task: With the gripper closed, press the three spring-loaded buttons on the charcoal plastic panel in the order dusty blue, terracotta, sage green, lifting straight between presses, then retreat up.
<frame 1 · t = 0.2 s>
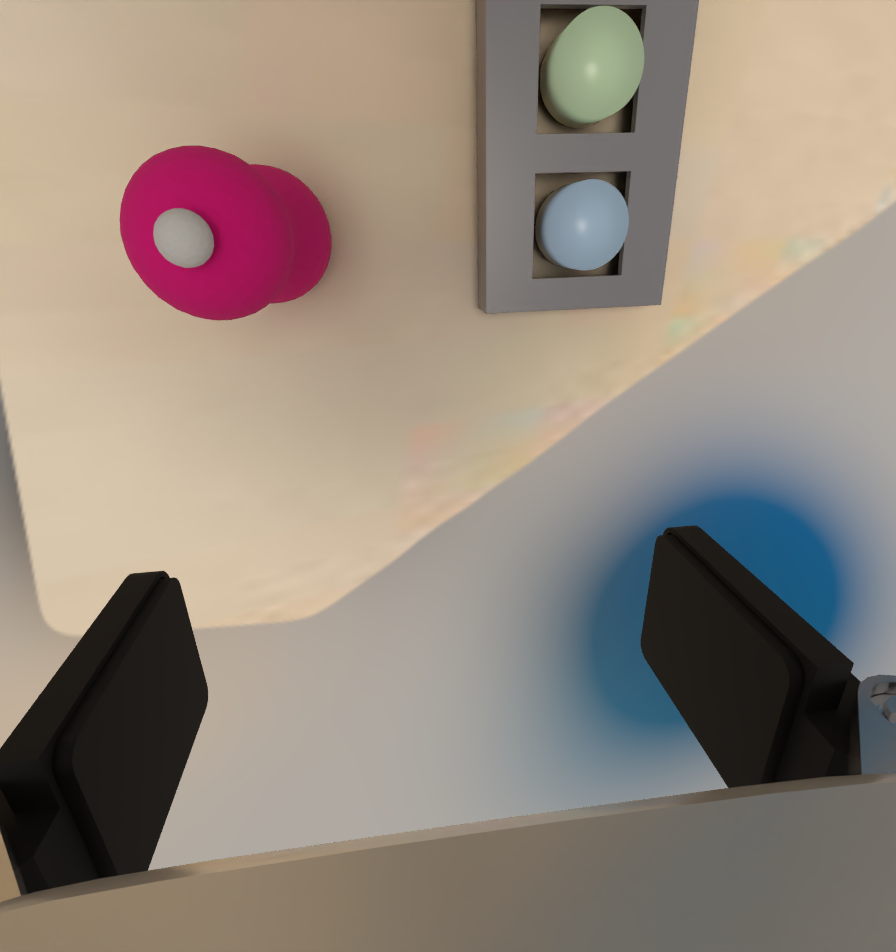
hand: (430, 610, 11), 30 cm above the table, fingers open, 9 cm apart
blue button: (580, 226, 34), point 3 cm above the table, slide at 0.0 cm
sage button: (590, 71, 31), point 3 cm above the table, slide at 0.0 cm
button panel: (572, 84, 33), on the table
pepper mill: (279, 236, 35), on the table
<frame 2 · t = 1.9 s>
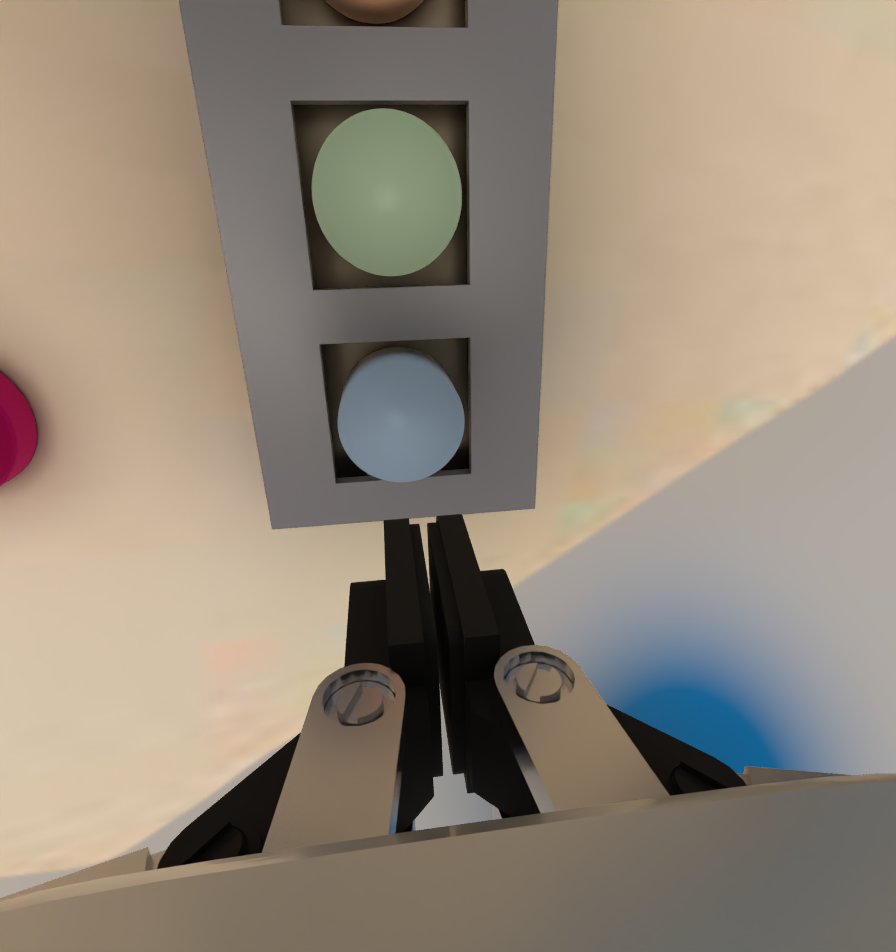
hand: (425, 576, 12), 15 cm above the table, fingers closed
blue button: (400, 413, 23), point 3 cm above the table, slide at 0.0 cm
sage button: (387, 199, 20), point 3 cm above the table, slide at 0.0 cm
button panel: (385, 204, 22), on the table
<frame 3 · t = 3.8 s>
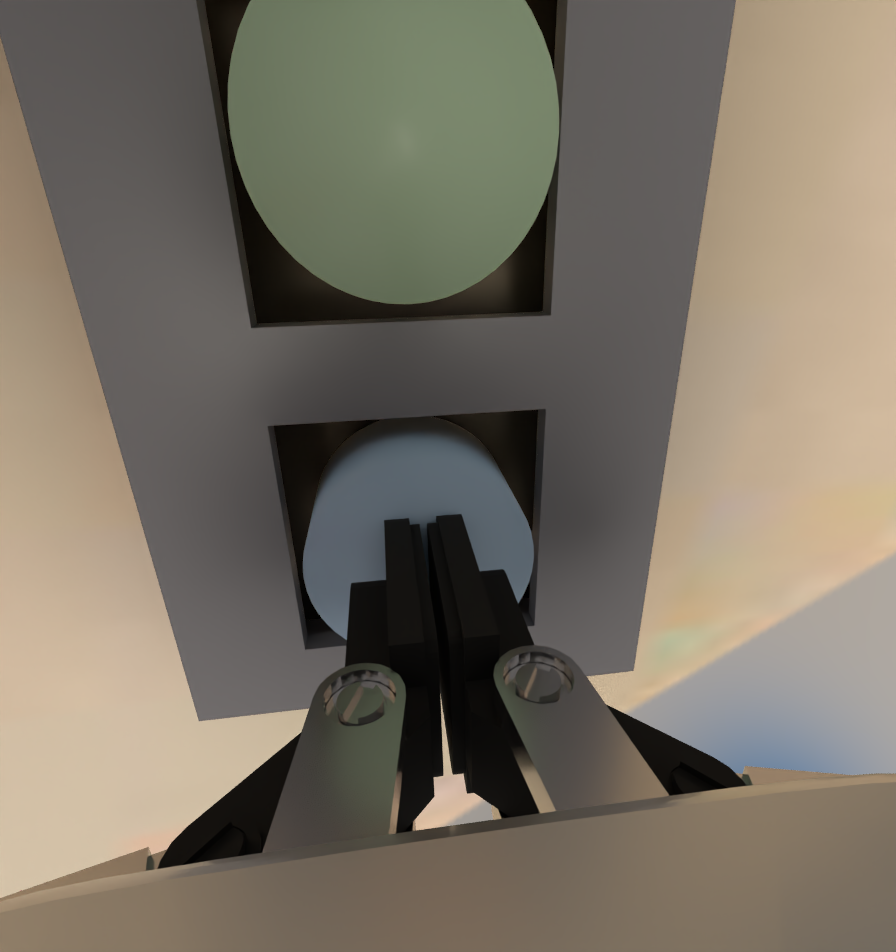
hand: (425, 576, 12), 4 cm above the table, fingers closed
blue button: (416, 533, 13), point 3 cm above the table, slide at 0.2 cm, touching gripper
sage button: (396, 147, 10), point 3 cm above the table, slide at 0.0 cm
button panel: (390, 167, 12), on the table
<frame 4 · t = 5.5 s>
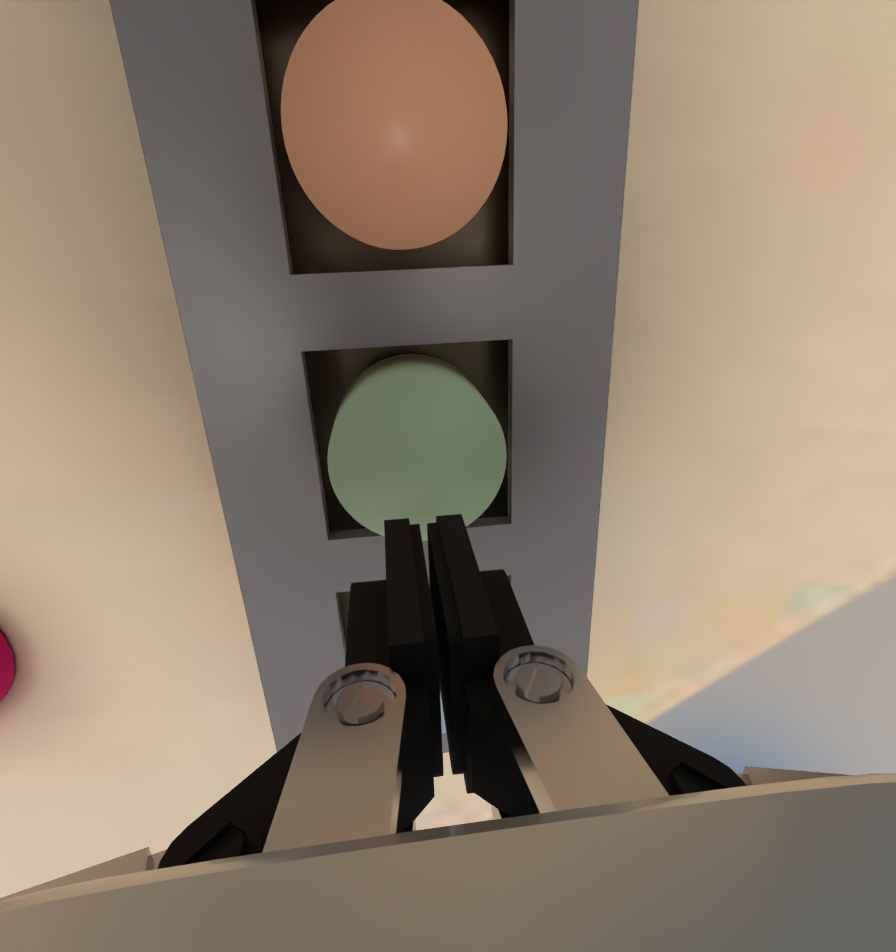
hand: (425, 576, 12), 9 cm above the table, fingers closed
blue button: (428, 650, 20), point 3 cm above the table, slide at 0.2 cm
sage button: (415, 445, 16), point 3 cm above the table, slide at 0.0 cm
terracotta button: (395, 140, 13), point 3 cm above the table, slide at 0.0 cm
button panel: (410, 417, 19), on the table
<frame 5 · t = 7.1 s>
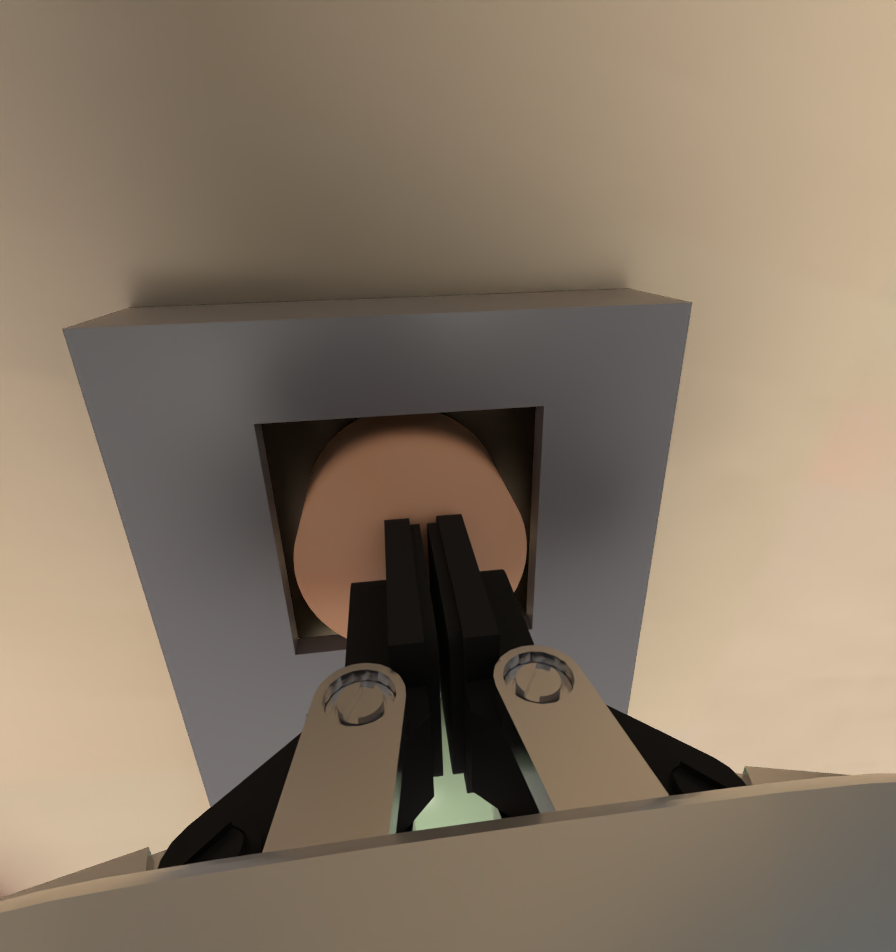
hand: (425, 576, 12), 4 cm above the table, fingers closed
sage button: (424, 776, 16), point 3 cm above the table, slide at 0.0 cm
terracotta button: (408, 526, 13), point 2 cm above the table, slide at 0.6 cm, touching gripper
button panel: (416, 696, 18), on the table
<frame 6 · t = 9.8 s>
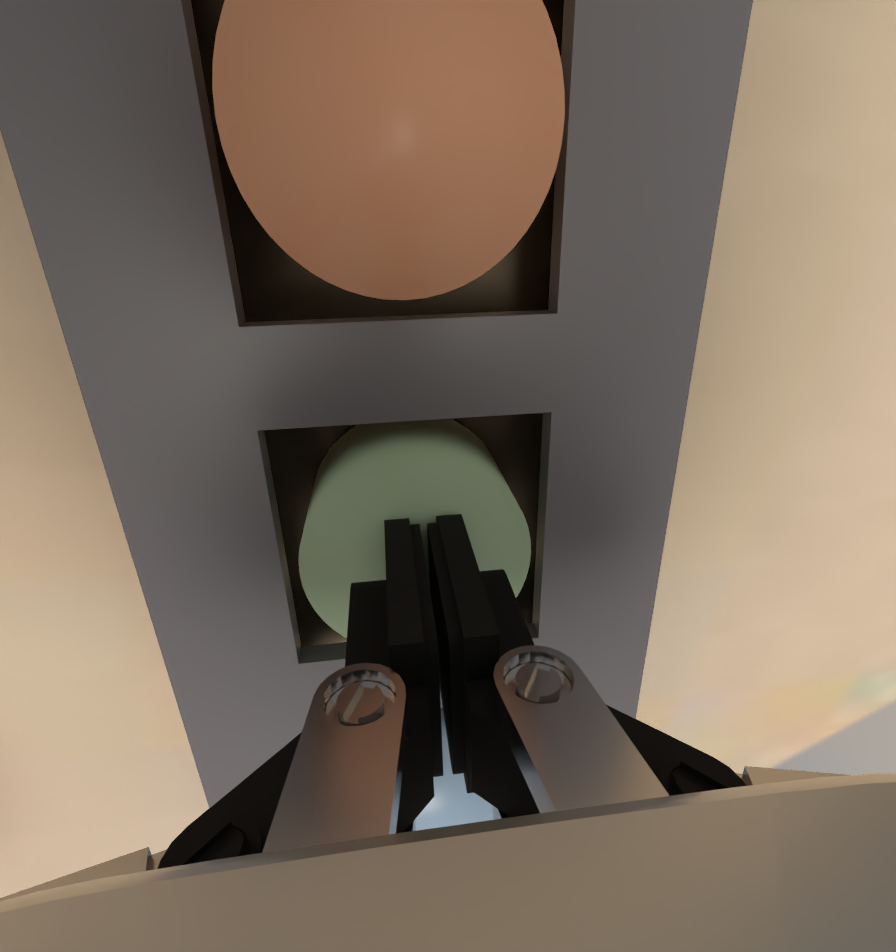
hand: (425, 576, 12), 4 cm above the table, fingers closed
blue button: (428, 781, 16), point 3 cm above the table, slide at 0.2 cm
sage button: (413, 529, 13), point 2 cm above the table, slide at 0.8 cm, touching gripper
terracotta button: (392, 135, 9), point 3 cm above the table, slide at 0.2 cm
button panel: (407, 490, 15), on the table
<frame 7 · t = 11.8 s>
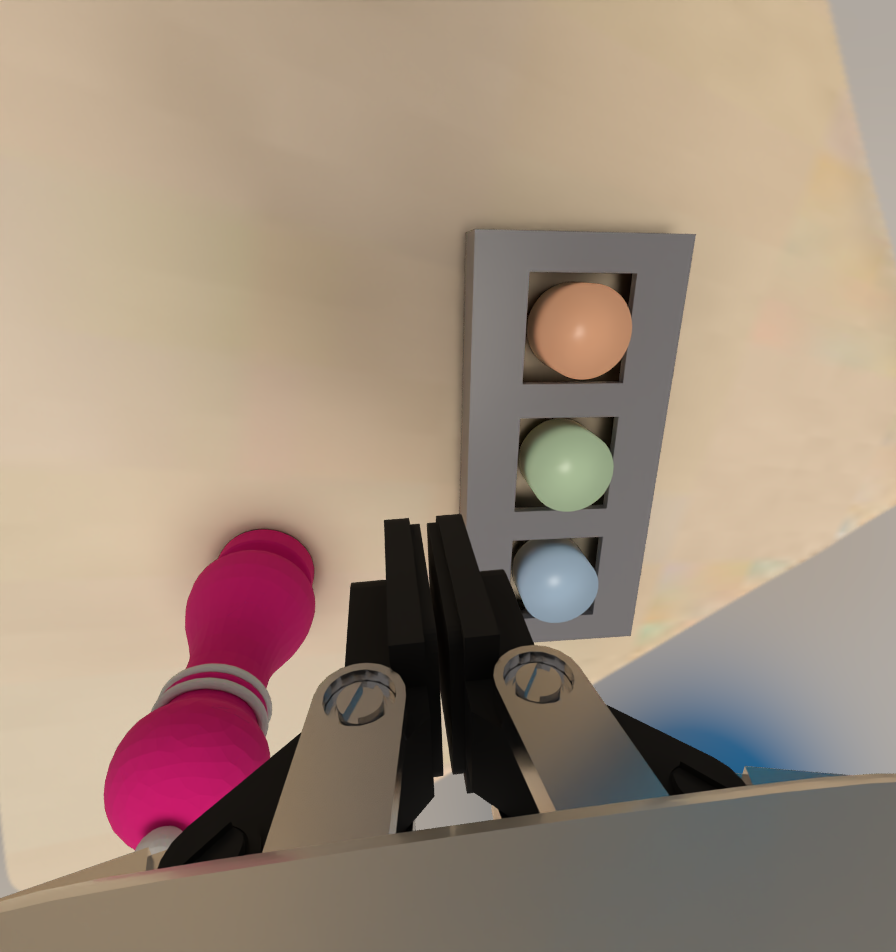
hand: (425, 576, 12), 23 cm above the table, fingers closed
blue button: (553, 577, 36), point 3 cm above the table, slide at 0.2 cm
sage button: (564, 464, 33), point 3 cm above the table, slide at 0.2 cm
terracotta button: (577, 329, 30), point 3 cm above the table, slide at 0.2 cm
button panel: (550, 450, 36), on the table
pepper mill: (267, 568, 37), on the table
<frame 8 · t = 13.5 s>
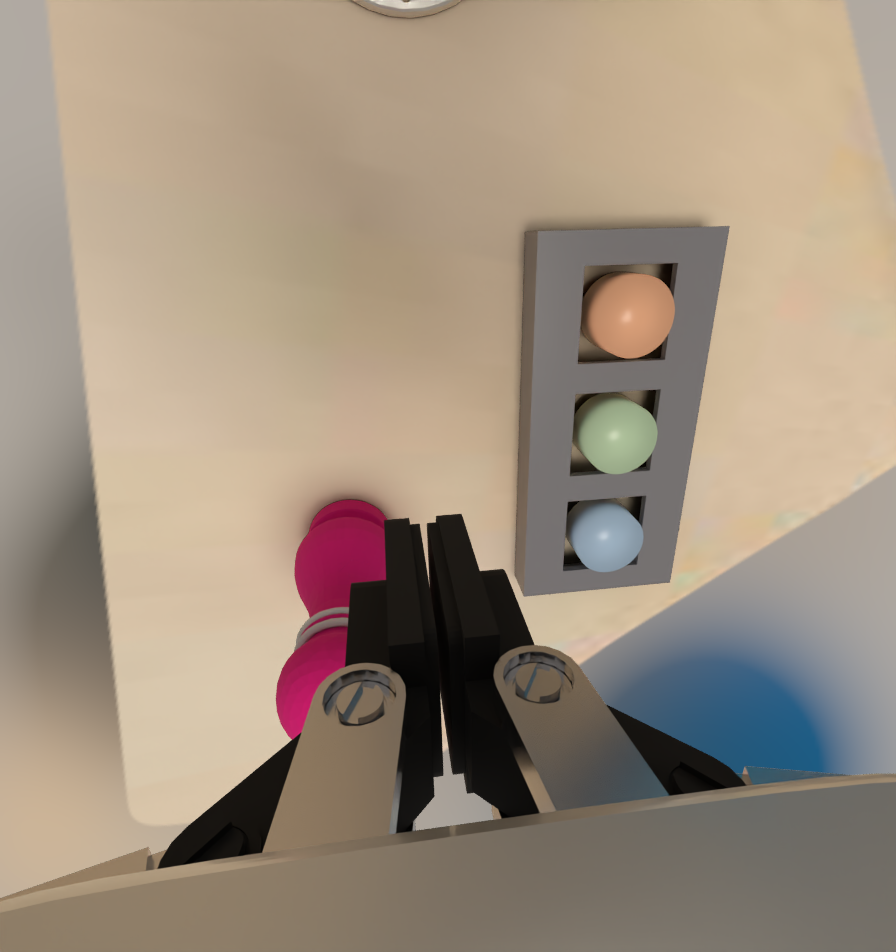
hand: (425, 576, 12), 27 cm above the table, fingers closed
blue button: (602, 533, 41), point 3 cm above the table, slide at 0.2 cm
sage button: (613, 433, 38), point 3 cm above the table, slide at 0.2 cm
terracotta button: (625, 314, 35), point 3 cm above the table, slide at 0.2 cm
button panel: (597, 420, 40), on the table
pepper mill: (351, 534, 42), on the table
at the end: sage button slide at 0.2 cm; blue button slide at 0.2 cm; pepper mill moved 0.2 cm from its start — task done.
